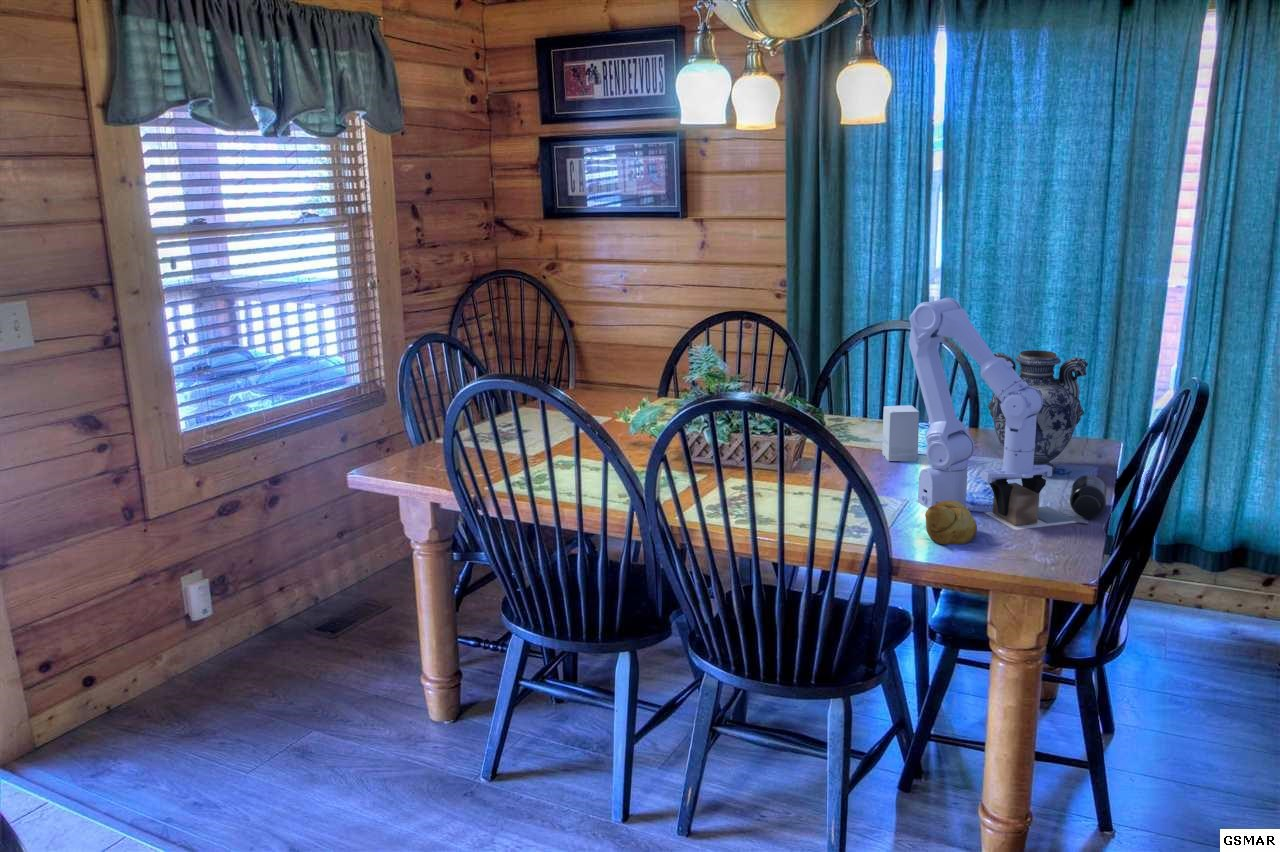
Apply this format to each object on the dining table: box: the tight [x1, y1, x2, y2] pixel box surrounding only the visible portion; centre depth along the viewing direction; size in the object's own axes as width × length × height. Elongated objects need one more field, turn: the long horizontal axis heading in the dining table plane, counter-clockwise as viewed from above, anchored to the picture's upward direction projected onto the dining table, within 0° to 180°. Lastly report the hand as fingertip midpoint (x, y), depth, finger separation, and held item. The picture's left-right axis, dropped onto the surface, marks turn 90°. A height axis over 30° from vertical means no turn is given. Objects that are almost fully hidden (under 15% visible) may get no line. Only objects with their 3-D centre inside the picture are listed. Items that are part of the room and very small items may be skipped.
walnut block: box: [992, 482, 1040, 525], centre depth 208 cm, size 5×8×6 cm, turn 14°
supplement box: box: [881, 404, 920, 462], centre depth 255 cm, size 7×7×13 cm
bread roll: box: [924, 500, 978, 546], centre depth 201 cm, size 13×10×8 cm
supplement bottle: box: [1069, 474, 1108, 519], centre depth 212 cm, size 7×7×12 cm
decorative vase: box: [987, 349, 1089, 474], centre depth 240 cm, size 21×19×28 cm
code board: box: [984, 505, 1077, 531], centre depth 210 cm, size 14×11×1 cm
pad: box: [1038, 505, 1075, 524], centre depth 211 cm, size 6×9×1 cm
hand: (1014, 512), depth 209 cm, fingers closed on walnut block, 5 cm apart
